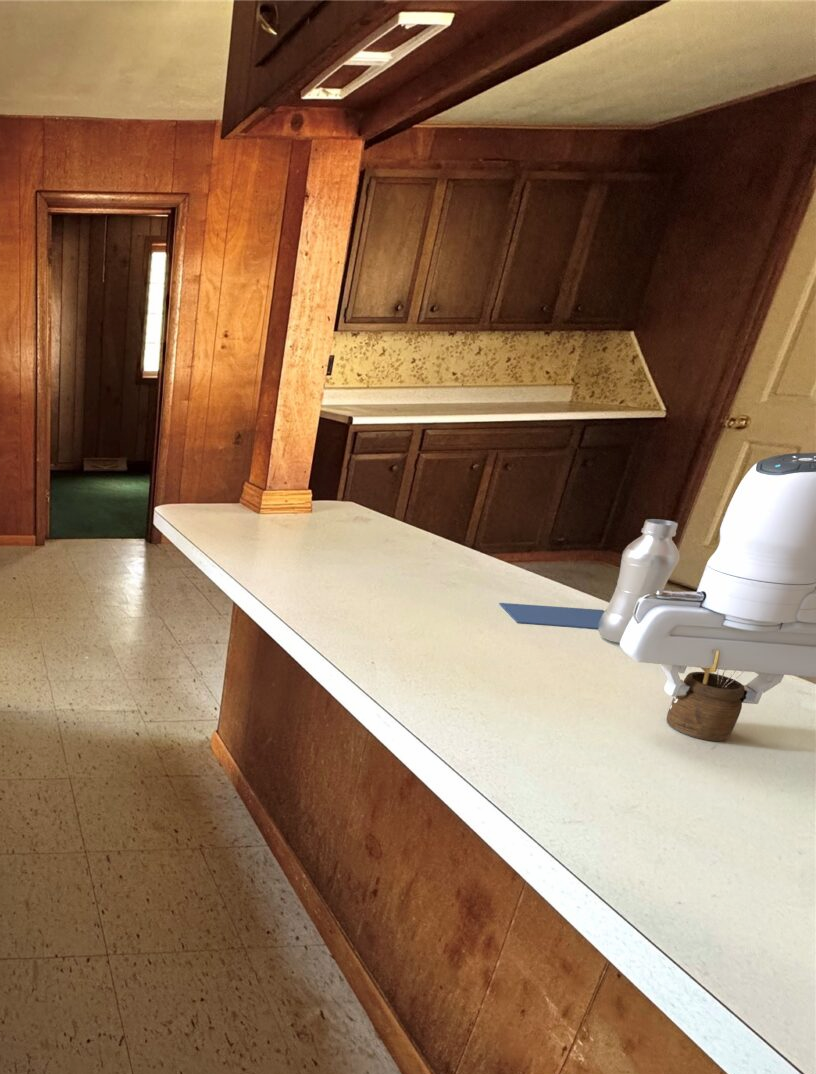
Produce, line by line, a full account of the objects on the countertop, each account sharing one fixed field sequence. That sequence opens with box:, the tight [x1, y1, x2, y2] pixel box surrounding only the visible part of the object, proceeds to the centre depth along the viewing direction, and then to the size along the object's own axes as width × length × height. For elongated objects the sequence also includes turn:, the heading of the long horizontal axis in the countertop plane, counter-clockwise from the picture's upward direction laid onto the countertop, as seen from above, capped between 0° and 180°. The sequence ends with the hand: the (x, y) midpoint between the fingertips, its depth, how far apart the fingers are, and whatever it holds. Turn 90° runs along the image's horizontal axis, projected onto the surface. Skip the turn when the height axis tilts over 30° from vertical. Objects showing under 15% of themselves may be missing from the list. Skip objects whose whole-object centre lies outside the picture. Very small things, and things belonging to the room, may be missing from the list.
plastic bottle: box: [597, 518, 681, 644], centre depth 104 cm, size 6×7×20 cm
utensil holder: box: [666, 649, 745, 742], centre depth 82 cm, size 6×6×12 cm
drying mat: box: [498, 602, 605, 630], centre depth 117 cm, size 16×9×1 cm, turn 73°
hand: (709, 698), depth 82 cm, fingers closed on utensil holder, 5 cm apart
